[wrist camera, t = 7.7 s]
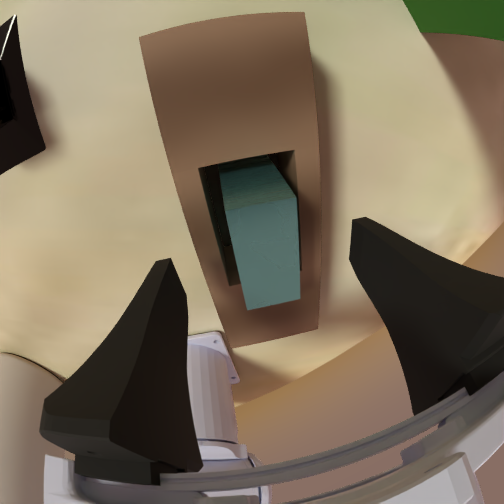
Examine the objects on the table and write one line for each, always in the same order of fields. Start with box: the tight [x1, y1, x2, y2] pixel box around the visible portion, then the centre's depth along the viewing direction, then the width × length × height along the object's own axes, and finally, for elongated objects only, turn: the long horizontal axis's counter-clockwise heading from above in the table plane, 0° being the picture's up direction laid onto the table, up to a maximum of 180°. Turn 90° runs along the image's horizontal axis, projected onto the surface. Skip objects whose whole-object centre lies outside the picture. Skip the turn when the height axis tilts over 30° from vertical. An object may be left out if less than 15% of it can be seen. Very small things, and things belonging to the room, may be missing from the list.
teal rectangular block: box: [218, 154, 300, 310], centre depth 13 cm, size 5×2×6 cm, turn 8°
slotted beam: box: [139, 12, 321, 348], centre depth 14 cm, size 18×6×4 cm, turn 8°
